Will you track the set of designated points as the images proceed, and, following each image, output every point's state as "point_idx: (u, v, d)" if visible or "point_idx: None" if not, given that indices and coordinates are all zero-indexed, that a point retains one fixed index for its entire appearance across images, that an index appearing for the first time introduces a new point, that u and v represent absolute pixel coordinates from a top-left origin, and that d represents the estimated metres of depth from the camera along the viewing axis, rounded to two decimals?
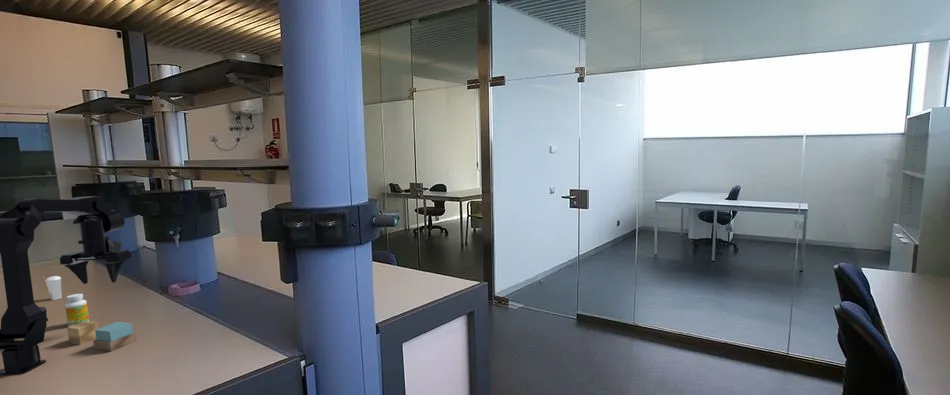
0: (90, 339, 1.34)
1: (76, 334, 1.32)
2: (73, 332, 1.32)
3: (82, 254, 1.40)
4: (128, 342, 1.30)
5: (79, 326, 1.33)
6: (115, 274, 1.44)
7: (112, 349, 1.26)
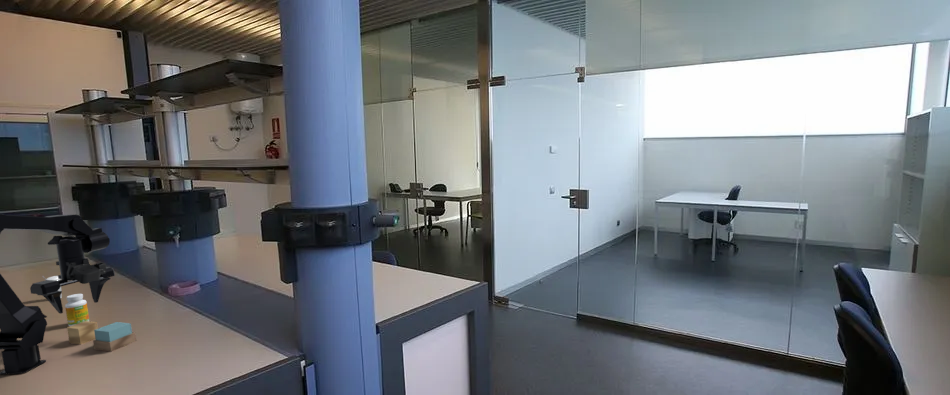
0: (90, 339, 1.34)
1: (76, 334, 1.32)
2: (73, 332, 1.32)
3: None
4: (128, 342, 1.30)
5: (79, 326, 1.33)
6: (54, 305, 1.28)
7: (112, 349, 1.26)
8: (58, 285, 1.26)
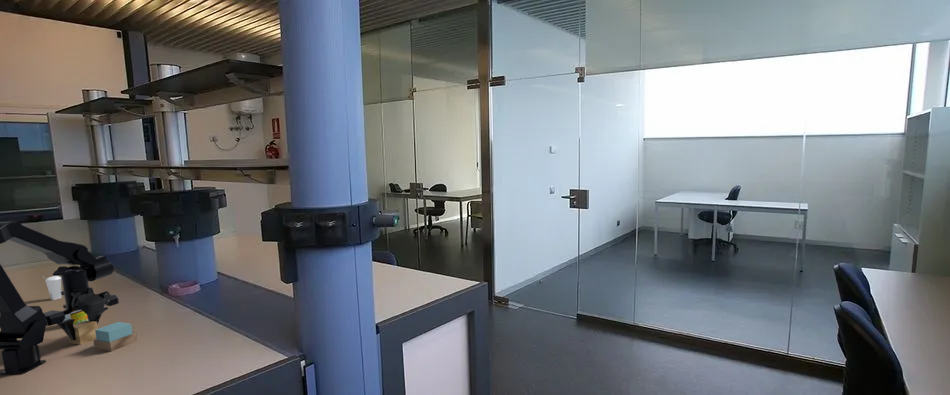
0: (90, 339, 1.34)
1: (76, 334, 1.32)
2: None
3: None
4: (128, 342, 1.30)
5: (79, 326, 1.33)
6: (68, 332, 1.31)
7: (112, 349, 1.26)
8: (63, 316, 1.27)
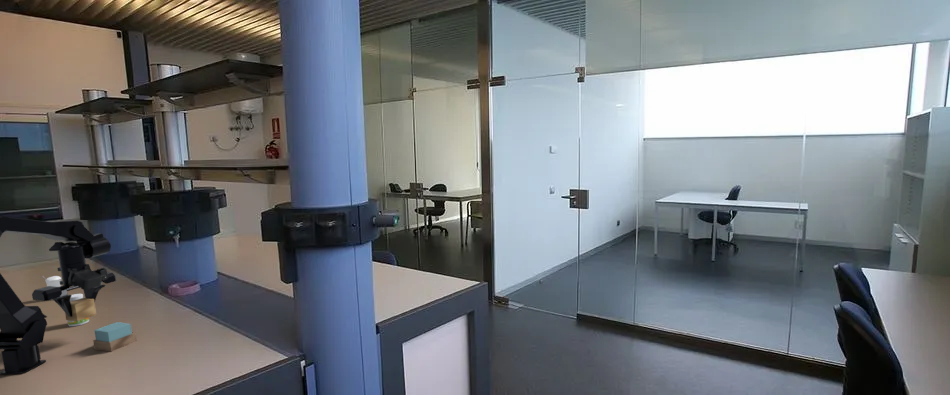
0: (87, 316, 1.34)
1: (73, 310, 1.31)
2: None
3: None
4: (128, 342, 1.30)
5: (76, 302, 1.32)
6: (64, 309, 1.30)
7: (112, 349, 1.26)
8: (60, 291, 1.27)
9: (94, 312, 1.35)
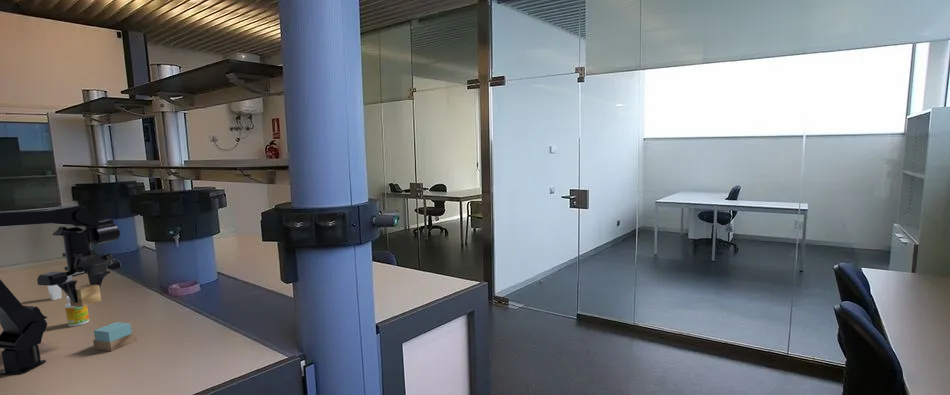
0: (92, 302, 1.32)
1: (78, 296, 1.29)
2: None
3: None
4: (128, 342, 1.30)
5: (81, 288, 1.31)
6: (69, 295, 1.29)
7: (112, 349, 1.26)
8: (66, 276, 1.25)
9: (99, 298, 1.34)
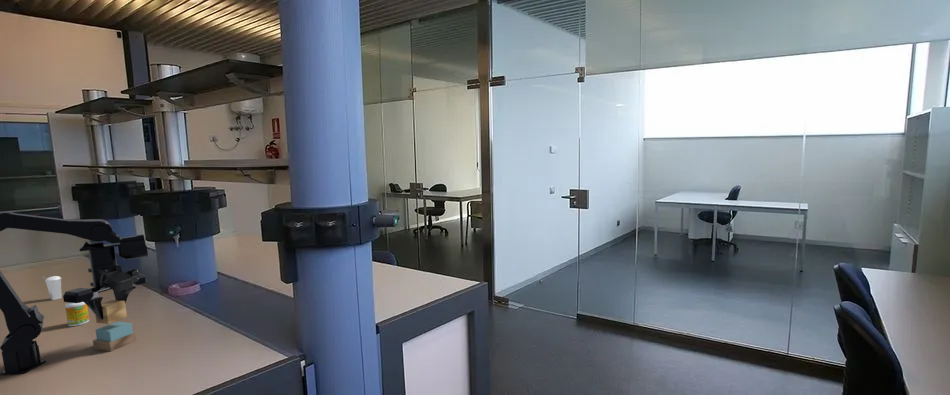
0: (118, 318, 1.29)
1: (104, 313, 1.26)
2: None
3: None
4: (128, 342, 1.31)
5: (106, 305, 1.28)
6: (95, 311, 1.26)
7: (112, 349, 1.26)
8: (91, 293, 1.22)
9: (124, 314, 1.30)
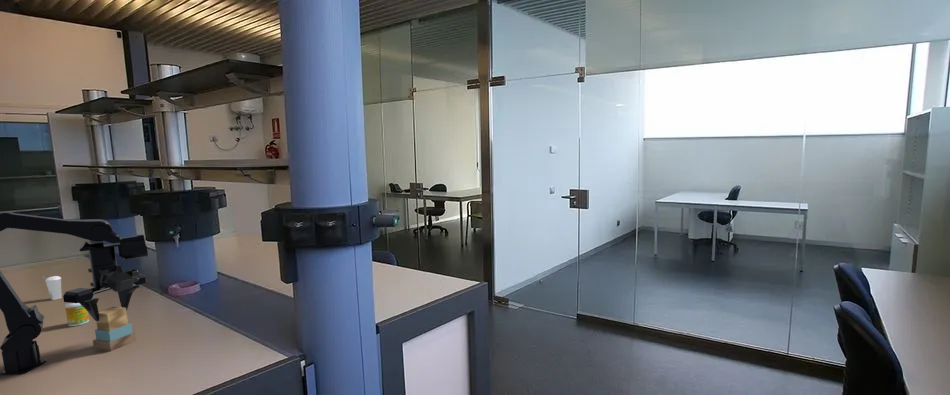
0: (119, 325, 1.29)
1: (105, 320, 1.26)
2: (102, 317, 1.27)
3: None
4: (128, 342, 1.31)
5: (107, 311, 1.28)
6: (91, 313, 1.25)
7: (112, 349, 1.26)
8: (92, 293, 1.22)
9: (125, 321, 1.31)
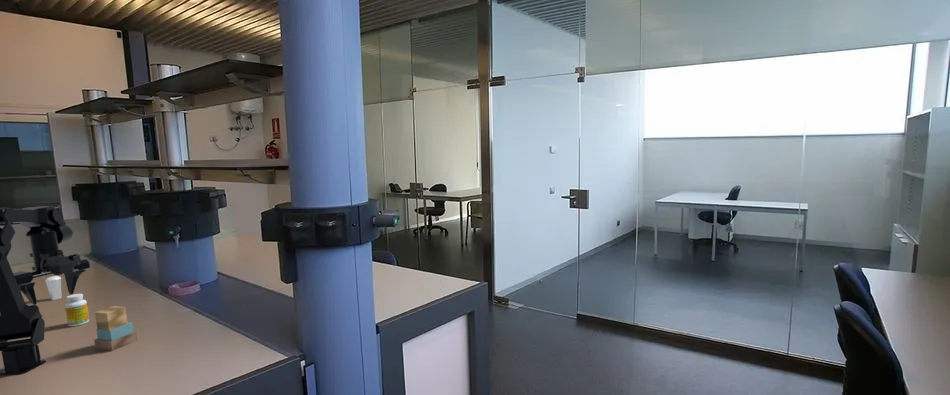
0: (118, 324, 1.29)
1: (105, 319, 1.27)
2: (101, 317, 1.27)
3: None
4: (129, 341, 1.31)
5: (107, 311, 1.28)
6: (28, 296, 1.29)
7: (113, 348, 1.27)
8: (31, 276, 1.27)
9: (125, 320, 1.31)
